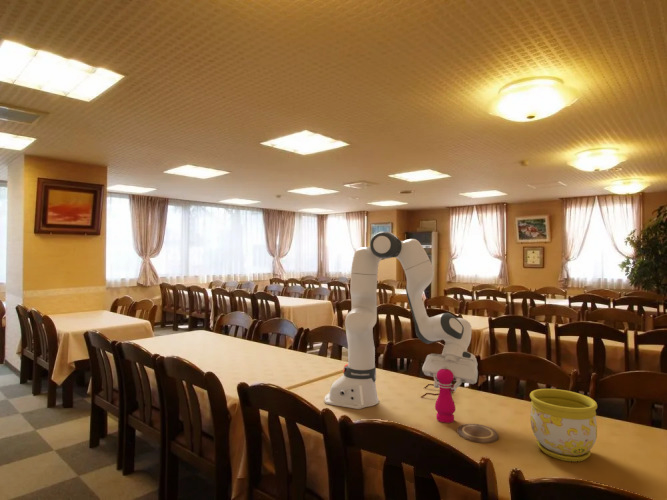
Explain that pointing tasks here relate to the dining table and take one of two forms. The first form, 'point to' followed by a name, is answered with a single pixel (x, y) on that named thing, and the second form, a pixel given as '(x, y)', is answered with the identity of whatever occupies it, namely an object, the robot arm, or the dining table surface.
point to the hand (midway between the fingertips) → (444, 388)
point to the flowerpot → (563, 423)
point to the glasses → (432, 393)
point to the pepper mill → (445, 396)
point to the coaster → (477, 433)
